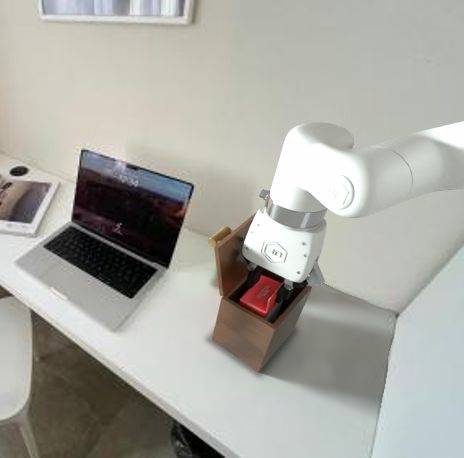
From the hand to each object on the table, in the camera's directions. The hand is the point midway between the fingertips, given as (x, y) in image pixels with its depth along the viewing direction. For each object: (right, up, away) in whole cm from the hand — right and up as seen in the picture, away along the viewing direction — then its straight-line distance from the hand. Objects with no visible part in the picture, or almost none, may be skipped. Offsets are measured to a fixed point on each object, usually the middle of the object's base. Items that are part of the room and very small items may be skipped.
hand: (266, 290), depth 64 cm
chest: (+2, -10, +8) cm, 13 cm away
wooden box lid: (-4, +7, 0) cm, 8 cm away
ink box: (+1, -10, +7) cm, 12 cm away
